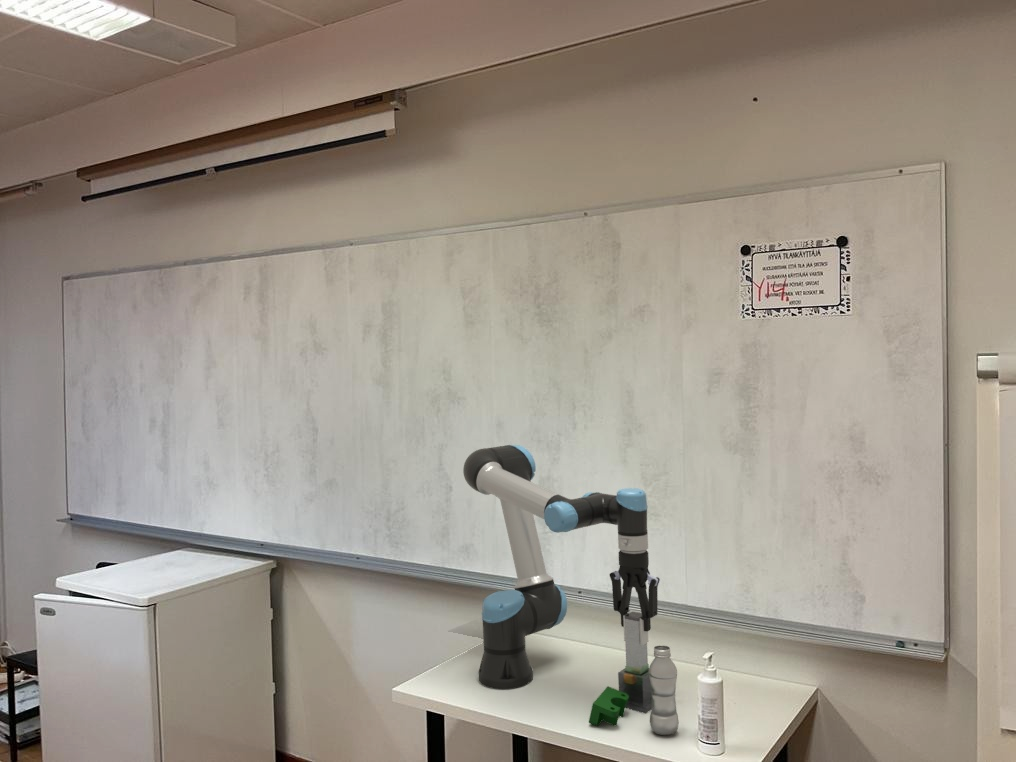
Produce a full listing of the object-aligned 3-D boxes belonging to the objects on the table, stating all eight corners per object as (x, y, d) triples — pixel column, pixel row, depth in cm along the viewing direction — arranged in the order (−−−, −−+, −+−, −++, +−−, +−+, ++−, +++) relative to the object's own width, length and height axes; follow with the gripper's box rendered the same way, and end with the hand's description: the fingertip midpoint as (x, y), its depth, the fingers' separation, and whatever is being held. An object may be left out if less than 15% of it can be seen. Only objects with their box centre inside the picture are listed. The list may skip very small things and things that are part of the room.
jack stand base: (611, 704, 210) (610, 671, 210) (631, 691, 218) (630, 659, 218) (645, 713, 204) (644, 680, 204) (665, 699, 212) (664, 667, 212)
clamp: (611, 744, 198) (613, 718, 193) (588, 734, 200) (589, 708, 196) (628, 708, 207) (631, 682, 203) (606, 699, 210) (608, 673, 205)
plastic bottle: (651, 725, 197) (648, 642, 197) (680, 727, 196) (677, 644, 195) (648, 737, 191) (645, 651, 191) (677, 740, 189) (675, 653, 189)
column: (625, 673, 211) (623, 615, 210) (634, 668, 214) (632, 611, 214) (640, 676, 208) (638, 618, 207) (648, 671, 211) (647, 614, 211)
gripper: (596, 549, 213) (599, 639, 213) (656, 557, 202) (658, 652, 202) (612, 543, 218) (615, 631, 219) (670, 551, 208) (673, 643, 208)
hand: (636, 641), depth 211 cm, fingers closed on column, 4 cm apart
